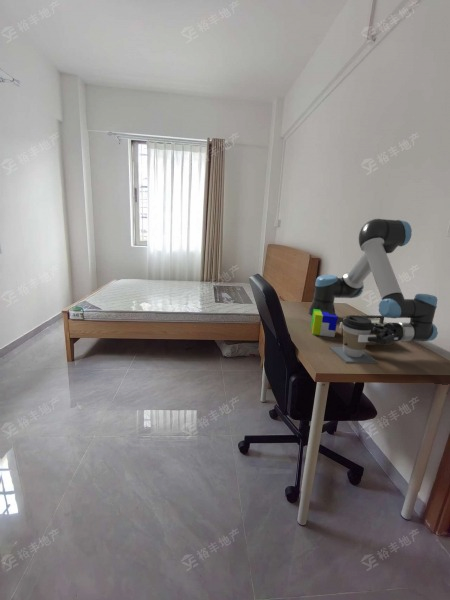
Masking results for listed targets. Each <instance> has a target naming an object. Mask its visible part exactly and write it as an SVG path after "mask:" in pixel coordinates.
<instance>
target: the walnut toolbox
mask: <svg viewBox="0 0 450 600" xmlns="http://www.w3.org/2000/svg"><path fill="white" fill-rule="evenodd" d="M356 316H362V317H366V318H368V319H370V320H371V323H377V324H378V326H379V325H381V326H384V325H385V324H387V323H388V322H385V317H383V316H382V315H378V314H377V315H374V314H373V315H371V314H370V315H369V314H368V315H367V314H364V315H363V314H362V315H361V314H358V315H357V314H356ZM345 318H346V317H345ZM345 318H344V317H343V318H342V320H343V319H345ZM373 331H374V330H373ZM340 334H341V335H343V329H341V332H340ZM370 335H376V337H377V334H374V333H371V332H370ZM367 345H368V346H369V345H370V346H371V345H381V343H376V342H367V344H366V346H367ZM386 345H387V346H388V345H392V346H393V345H394V342H391V343H388V344H386ZM381 346H382V345H381Z"/></svg>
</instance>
